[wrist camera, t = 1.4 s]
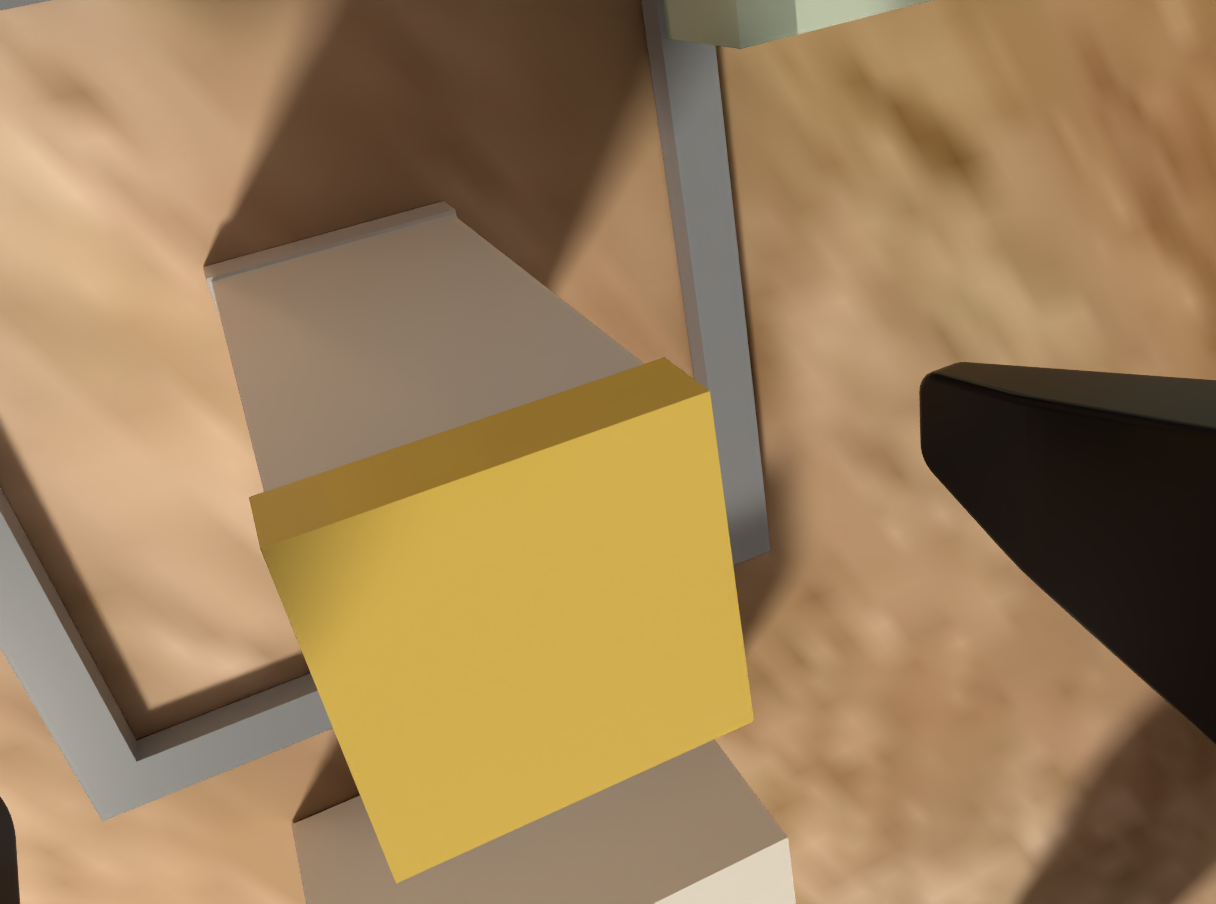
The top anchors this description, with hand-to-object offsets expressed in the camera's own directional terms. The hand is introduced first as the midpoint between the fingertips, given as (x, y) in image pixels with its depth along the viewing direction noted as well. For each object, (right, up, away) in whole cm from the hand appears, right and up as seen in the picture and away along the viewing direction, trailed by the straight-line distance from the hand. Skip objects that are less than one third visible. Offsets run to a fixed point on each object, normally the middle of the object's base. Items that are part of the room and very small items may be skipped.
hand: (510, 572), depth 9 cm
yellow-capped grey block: (-3, +3, +5) cm, 7 cm away
